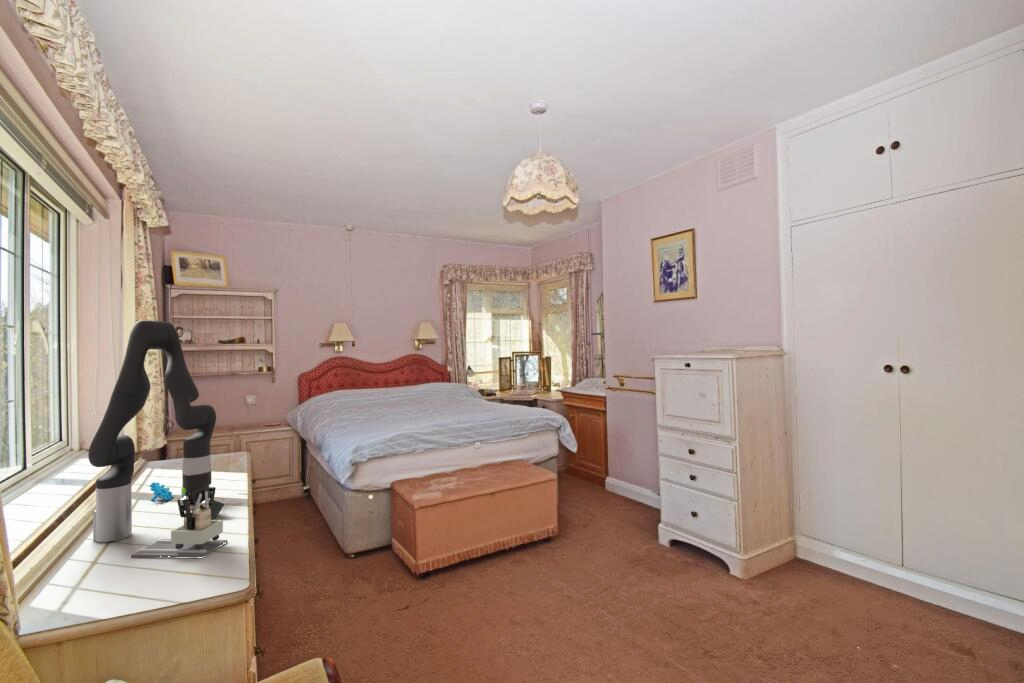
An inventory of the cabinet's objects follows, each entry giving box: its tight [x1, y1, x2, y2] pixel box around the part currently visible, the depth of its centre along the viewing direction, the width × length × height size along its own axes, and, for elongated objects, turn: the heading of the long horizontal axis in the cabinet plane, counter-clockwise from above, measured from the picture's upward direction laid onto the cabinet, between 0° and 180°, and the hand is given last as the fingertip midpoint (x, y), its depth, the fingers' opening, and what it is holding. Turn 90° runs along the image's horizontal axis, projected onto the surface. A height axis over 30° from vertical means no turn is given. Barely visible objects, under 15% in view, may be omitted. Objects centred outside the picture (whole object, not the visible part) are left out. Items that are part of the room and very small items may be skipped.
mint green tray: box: [170, 519, 224, 550], centre depth 152 cm, size 10×10×6 cm
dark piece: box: [209, 499, 225, 520], centre depth 181 cm, size 12×7×10 cm
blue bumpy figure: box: [149, 481, 174, 502], centre depth 204 cm, size 11×6×10 cm
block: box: [183, 509, 211, 531], centre depth 153 cm, size 5×5×5 cm
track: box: [130, 538, 229, 558], centre depth 153 cm, size 22×12×1 cm, turn 86°
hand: (197, 525), depth 153 cm, fingers closed on block, 4 cm apart
